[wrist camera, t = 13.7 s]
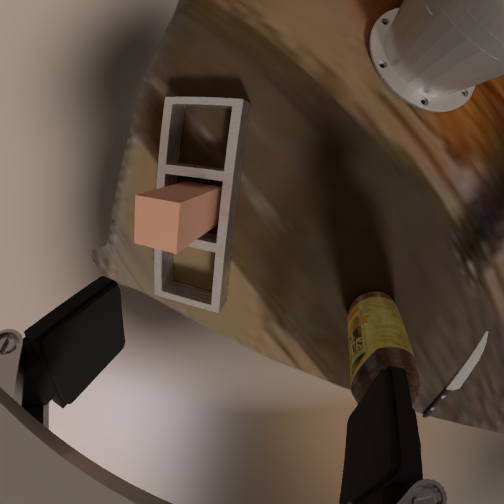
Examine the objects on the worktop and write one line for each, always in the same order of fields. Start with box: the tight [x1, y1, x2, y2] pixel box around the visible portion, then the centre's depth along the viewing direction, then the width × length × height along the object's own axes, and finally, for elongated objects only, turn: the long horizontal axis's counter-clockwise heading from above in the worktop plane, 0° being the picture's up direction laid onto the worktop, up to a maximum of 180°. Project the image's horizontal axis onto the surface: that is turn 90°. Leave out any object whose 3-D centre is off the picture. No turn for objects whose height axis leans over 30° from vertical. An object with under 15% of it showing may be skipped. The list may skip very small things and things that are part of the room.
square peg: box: [134, 181, 222, 254], centre depth 28 cm, size 4×4×10 cm
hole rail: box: [154, 97, 251, 313], centre depth 32 cm, size 23×9×3 cm, turn 172°
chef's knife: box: [423, 332, 488, 418], centre depth 32 cm, size 19×1×3 cm
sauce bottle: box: [347, 291, 421, 451], centre depth 23 cm, size 6×6×20 cm
